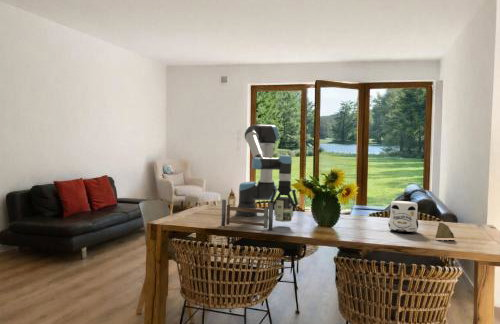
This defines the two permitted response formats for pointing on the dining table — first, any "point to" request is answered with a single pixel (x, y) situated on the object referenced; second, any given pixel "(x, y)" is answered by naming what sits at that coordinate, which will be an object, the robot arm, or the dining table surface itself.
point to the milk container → (403, 216)
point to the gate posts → (269, 214)
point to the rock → (444, 231)
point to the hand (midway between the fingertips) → (283, 215)
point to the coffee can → (283, 209)
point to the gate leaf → (247, 211)
